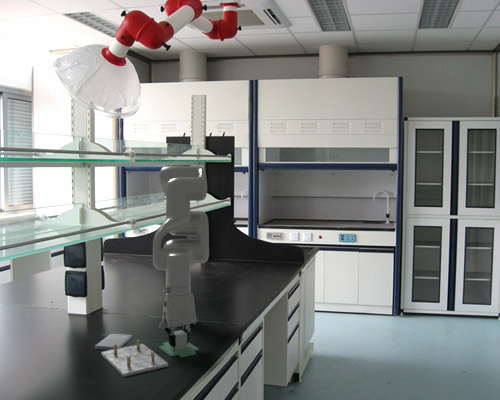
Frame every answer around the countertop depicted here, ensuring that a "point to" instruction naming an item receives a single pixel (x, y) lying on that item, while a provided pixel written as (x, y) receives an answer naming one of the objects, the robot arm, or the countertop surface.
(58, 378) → the countertop surface
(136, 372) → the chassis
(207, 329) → the countertop surface
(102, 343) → the hard drive
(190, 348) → the board
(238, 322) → the countertop surface
